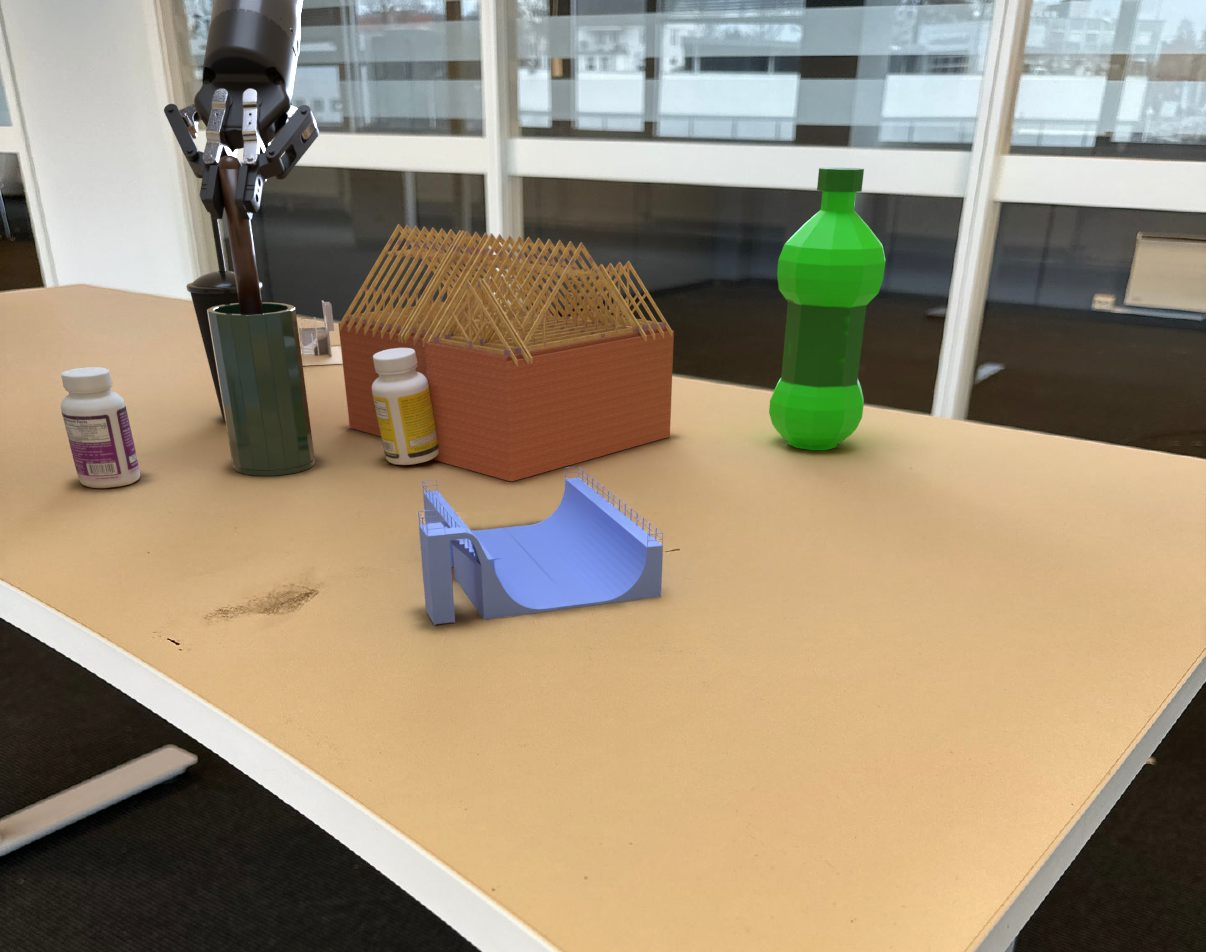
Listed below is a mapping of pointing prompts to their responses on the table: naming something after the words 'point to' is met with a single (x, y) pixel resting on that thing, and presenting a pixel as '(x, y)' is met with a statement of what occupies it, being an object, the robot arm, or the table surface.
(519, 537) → the half pipe
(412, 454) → the supplement bottle
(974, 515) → the table surface
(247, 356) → the green utensil holder
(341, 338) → the house
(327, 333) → the architectural model
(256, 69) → the robot arm
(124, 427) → the pill bottle
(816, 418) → the plastic bottle
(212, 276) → the drinking cup
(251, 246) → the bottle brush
